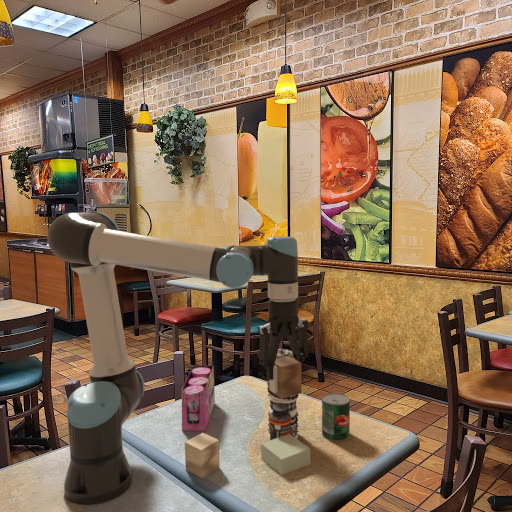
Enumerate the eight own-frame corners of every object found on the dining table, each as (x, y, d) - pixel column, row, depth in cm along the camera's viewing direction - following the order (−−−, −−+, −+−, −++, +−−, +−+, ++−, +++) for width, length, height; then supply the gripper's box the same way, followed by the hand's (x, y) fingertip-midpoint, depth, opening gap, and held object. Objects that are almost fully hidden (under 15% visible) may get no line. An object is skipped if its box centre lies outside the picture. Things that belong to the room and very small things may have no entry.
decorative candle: (263, 430, 136) (261, 348, 133) (292, 426, 139) (292, 345, 136) (273, 446, 127) (272, 358, 124) (304, 441, 130) (304, 354, 127)
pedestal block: (281, 478, 113) (281, 459, 112) (261, 461, 120) (261, 443, 120) (310, 466, 118) (310, 448, 117) (289, 451, 125) (288, 433, 125)
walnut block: (281, 398, 114) (280, 367, 113) (268, 390, 119) (268, 360, 118) (301, 393, 117) (301, 362, 116) (288, 385, 122) (287, 355, 121)
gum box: (205, 433, 135) (204, 392, 134) (180, 433, 136) (179, 392, 134) (215, 401, 158) (214, 365, 156) (193, 401, 158) (192, 365, 157)
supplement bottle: (282, 453, 124) (281, 415, 121) (265, 444, 128) (264, 407, 125) (296, 443, 128) (295, 406, 125) (279, 435, 132) (278, 398, 129)
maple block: (202, 481, 112) (201, 450, 111) (185, 472, 116) (184, 441, 115) (219, 470, 117) (218, 440, 116) (203, 461, 121) (202, 432, 120)
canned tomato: (324, 426, 138) (324, 391, 137) (351, 430, 136) (351, 394, 134) (319, 439, 131) (319, 402, 130) (347, 443, 128) (347, 405, 127)
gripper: (257, 306, 107) (259, 402, 110) (323, 296, 116) (323, 385, 119) (242, 300, 114) (244, 391, 116) (305, 292, 123) (306, 376, 126)
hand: (284, 388), depth 118 cm, fingers closed on walnut block, 6 cm apart
